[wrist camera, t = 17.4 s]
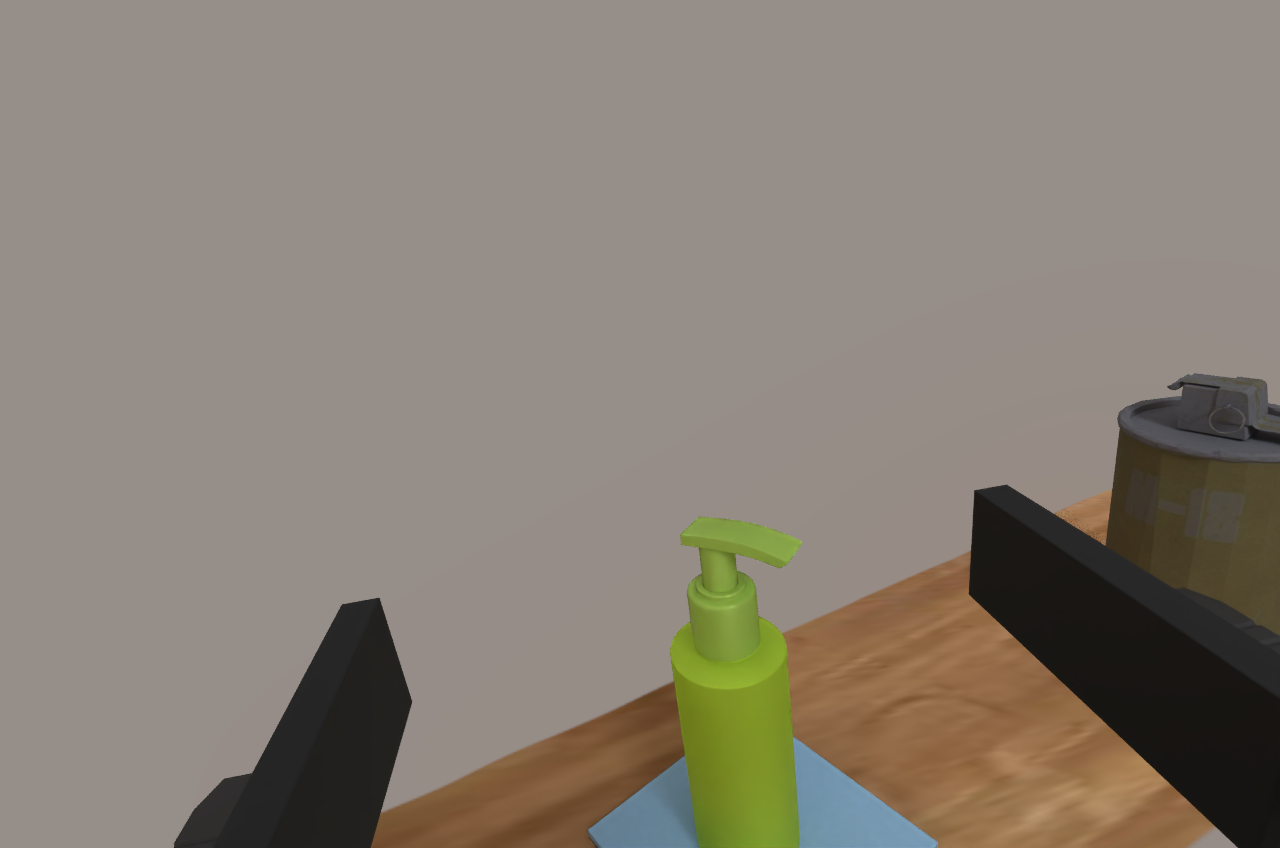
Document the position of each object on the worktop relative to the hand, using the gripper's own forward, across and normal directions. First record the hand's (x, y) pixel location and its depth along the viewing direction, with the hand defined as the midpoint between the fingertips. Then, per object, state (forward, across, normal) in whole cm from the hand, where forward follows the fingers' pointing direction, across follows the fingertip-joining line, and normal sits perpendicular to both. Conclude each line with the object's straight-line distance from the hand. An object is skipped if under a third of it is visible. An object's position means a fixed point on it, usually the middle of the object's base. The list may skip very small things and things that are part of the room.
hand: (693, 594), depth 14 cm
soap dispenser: (+14, +4, -27) cm, 31 cm away
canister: (+21, +38, -28) cm, 51 cm away
